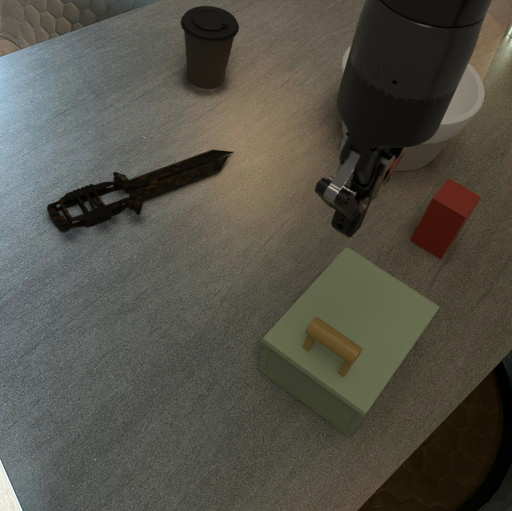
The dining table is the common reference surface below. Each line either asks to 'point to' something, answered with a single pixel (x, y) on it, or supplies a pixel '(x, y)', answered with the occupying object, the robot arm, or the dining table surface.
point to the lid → (352, 329)
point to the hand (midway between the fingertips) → (345, 227)
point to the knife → (128, 185)
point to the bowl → (455, 118)
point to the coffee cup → (208, 44)
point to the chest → (310, 392)
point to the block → (445, 218)
